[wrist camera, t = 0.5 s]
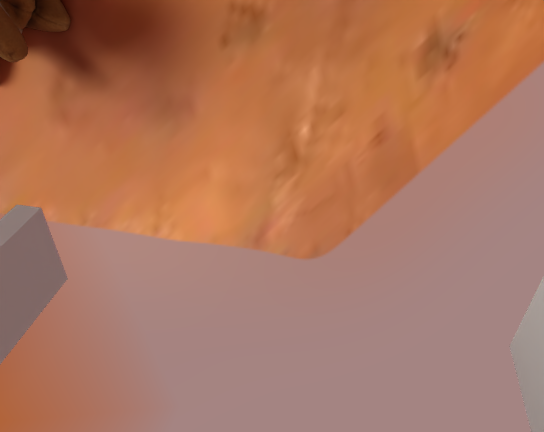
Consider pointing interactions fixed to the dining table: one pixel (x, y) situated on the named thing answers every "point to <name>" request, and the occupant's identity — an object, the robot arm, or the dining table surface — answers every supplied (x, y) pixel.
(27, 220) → the robot arm
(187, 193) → the dining table surface
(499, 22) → the dining table surface
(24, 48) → the stuffed squirrel
